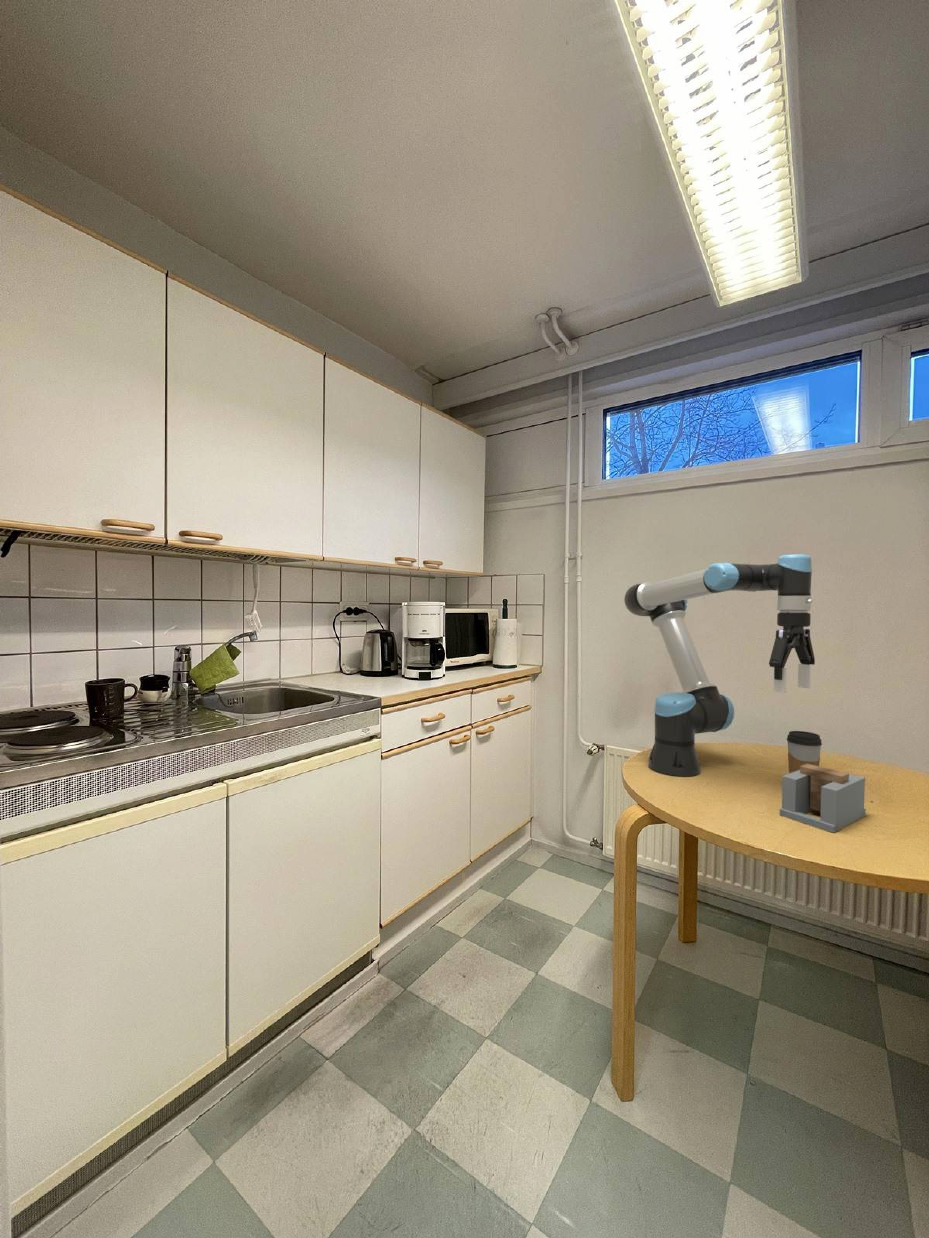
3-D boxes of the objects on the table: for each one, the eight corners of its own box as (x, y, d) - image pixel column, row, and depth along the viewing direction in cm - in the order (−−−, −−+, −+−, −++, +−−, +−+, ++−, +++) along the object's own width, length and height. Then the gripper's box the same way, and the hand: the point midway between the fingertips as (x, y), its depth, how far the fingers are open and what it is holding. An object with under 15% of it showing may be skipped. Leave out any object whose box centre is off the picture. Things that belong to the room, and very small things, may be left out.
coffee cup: (826, 792, 137) (828, 738, 137) (793, 790, 139) (794, 737, 138) (812, 782, 145) (813, 731, 145) (780, 779, 147) (781, 729, 147)
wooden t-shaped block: (798, 804, 125) (799, 766, 125) (806, 801, 127) (807, 763, 127) (841, 817, 117) (842, 776, 117) (848, 813, 119) (849, 773, 119)
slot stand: (779, 815, 122) (780, 776, 122) (813, 799, 132) (814, 764, 132) (833, 833, 113) (834, 791, 112) (865, 815, 122) (866, 777, 122)
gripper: (786, 612, 125) (784, 696, 125) (830, 611, 138) (828, 687, 139) (755, 611, 131) (753, 691, 131) (800, 611, 144) (798, 684, 145)
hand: (792, 689), depth 135 cm, fingers open, 13 cm apart
